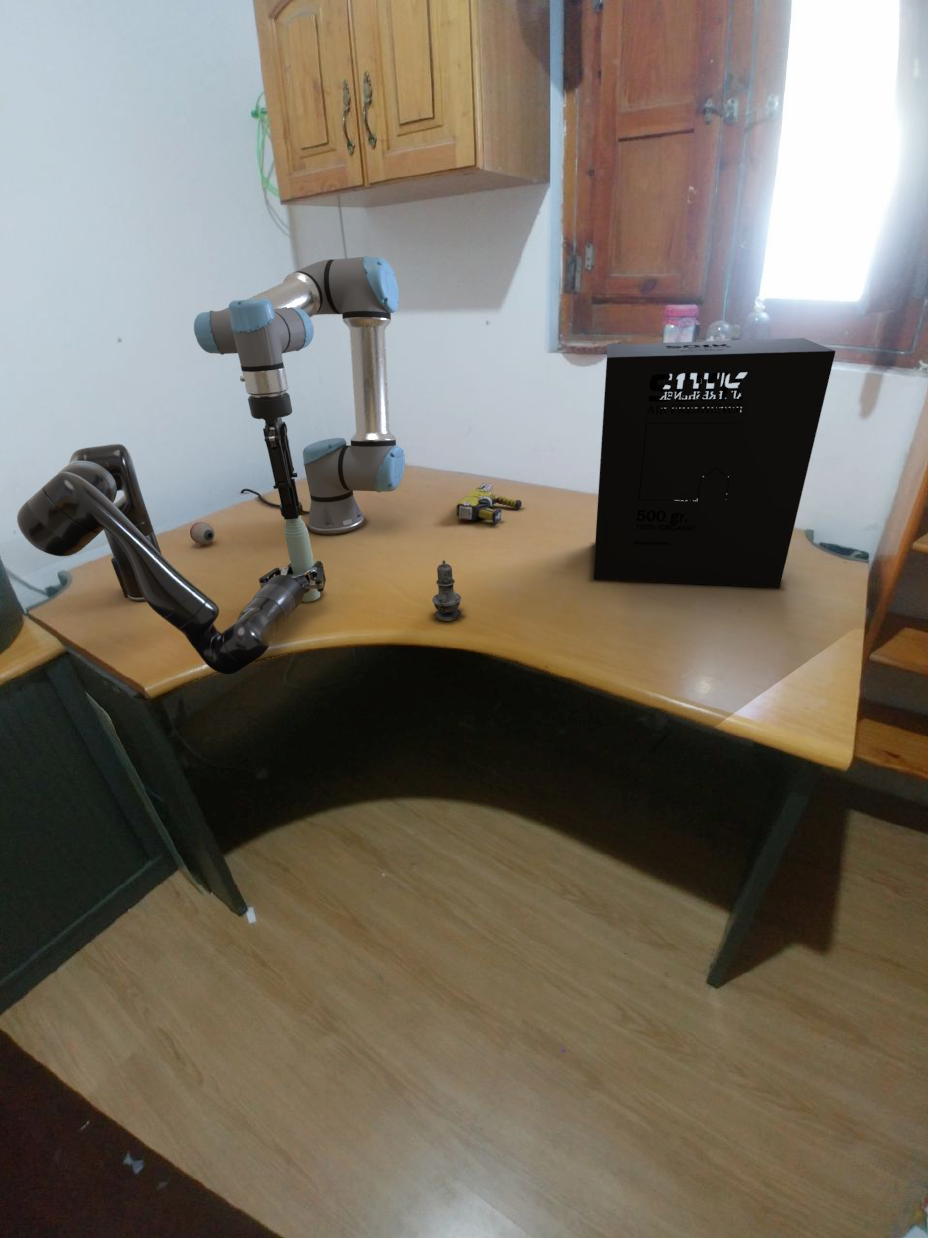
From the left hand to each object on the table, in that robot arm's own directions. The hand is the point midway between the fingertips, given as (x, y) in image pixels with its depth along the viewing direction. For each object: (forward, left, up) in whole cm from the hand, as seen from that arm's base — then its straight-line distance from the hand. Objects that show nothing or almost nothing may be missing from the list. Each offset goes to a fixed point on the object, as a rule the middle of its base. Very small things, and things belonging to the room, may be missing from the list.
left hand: (308, 564), depth 131 cm
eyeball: (-40, +25, -6) cm, 48 cm away
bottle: (0, -3, -6) cm, 7 cm away
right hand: (0, -3, +13) cm, 13 cm away
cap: (0, -3, +14) cm, 15 cm away
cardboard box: (+81, +17, -6) cm, 83 cm away
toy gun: (+35, +52, -6) cm, 63 cm away
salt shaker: (+32, -9, -6) cm, 34 cm away
